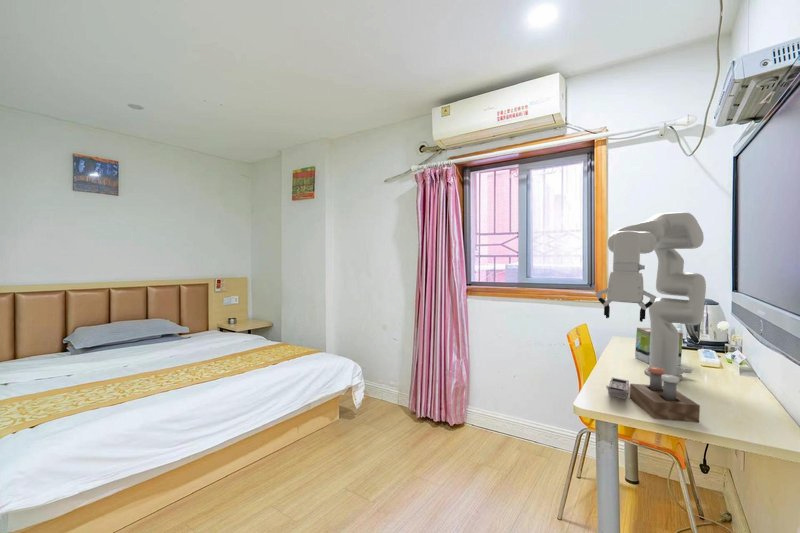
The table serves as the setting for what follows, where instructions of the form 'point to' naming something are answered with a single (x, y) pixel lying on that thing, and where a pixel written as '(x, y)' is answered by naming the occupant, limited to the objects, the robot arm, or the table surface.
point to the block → (664, 404)
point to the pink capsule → (656, 378)
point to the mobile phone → (618, 388)
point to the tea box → (644, 344)
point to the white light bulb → (669, 387)
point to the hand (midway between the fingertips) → (624, 319)
